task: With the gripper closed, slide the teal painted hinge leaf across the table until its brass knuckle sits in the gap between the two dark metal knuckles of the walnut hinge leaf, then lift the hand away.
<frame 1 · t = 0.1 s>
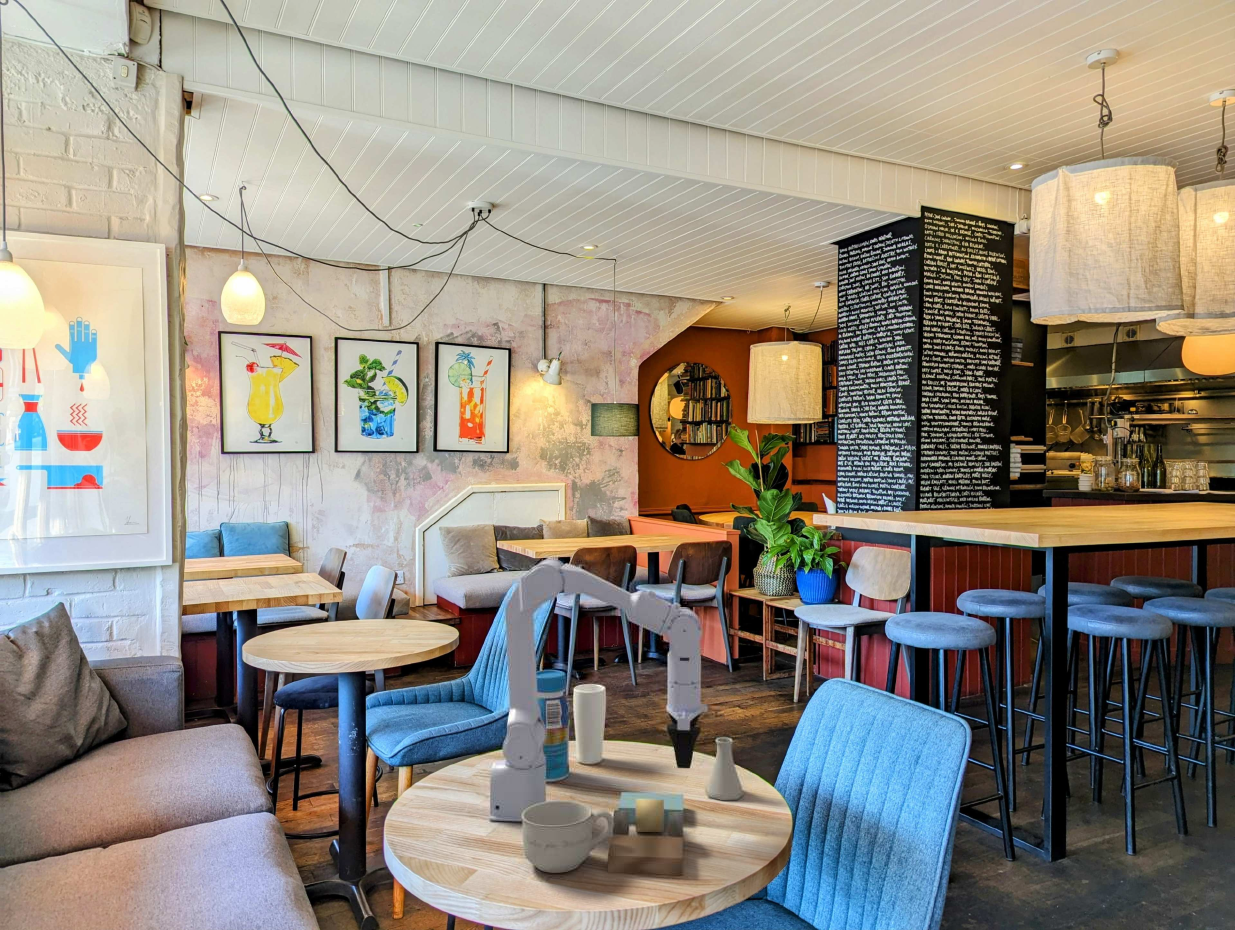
hand: (684, 759, 140), 10 cm above the table, tool pointing down, fingers open, 7 cm apart
fixed hinge leaf: (648, 844, 130), on the table
flask: (724, 795, 151), on the table
loose hinge leaf: (649, 830, 135), on the table
beverage bottle: (548, 776, 160), on the table
teacup: (567, 865, 123), on the table
drinking glass: (589, 761, 168), on the table
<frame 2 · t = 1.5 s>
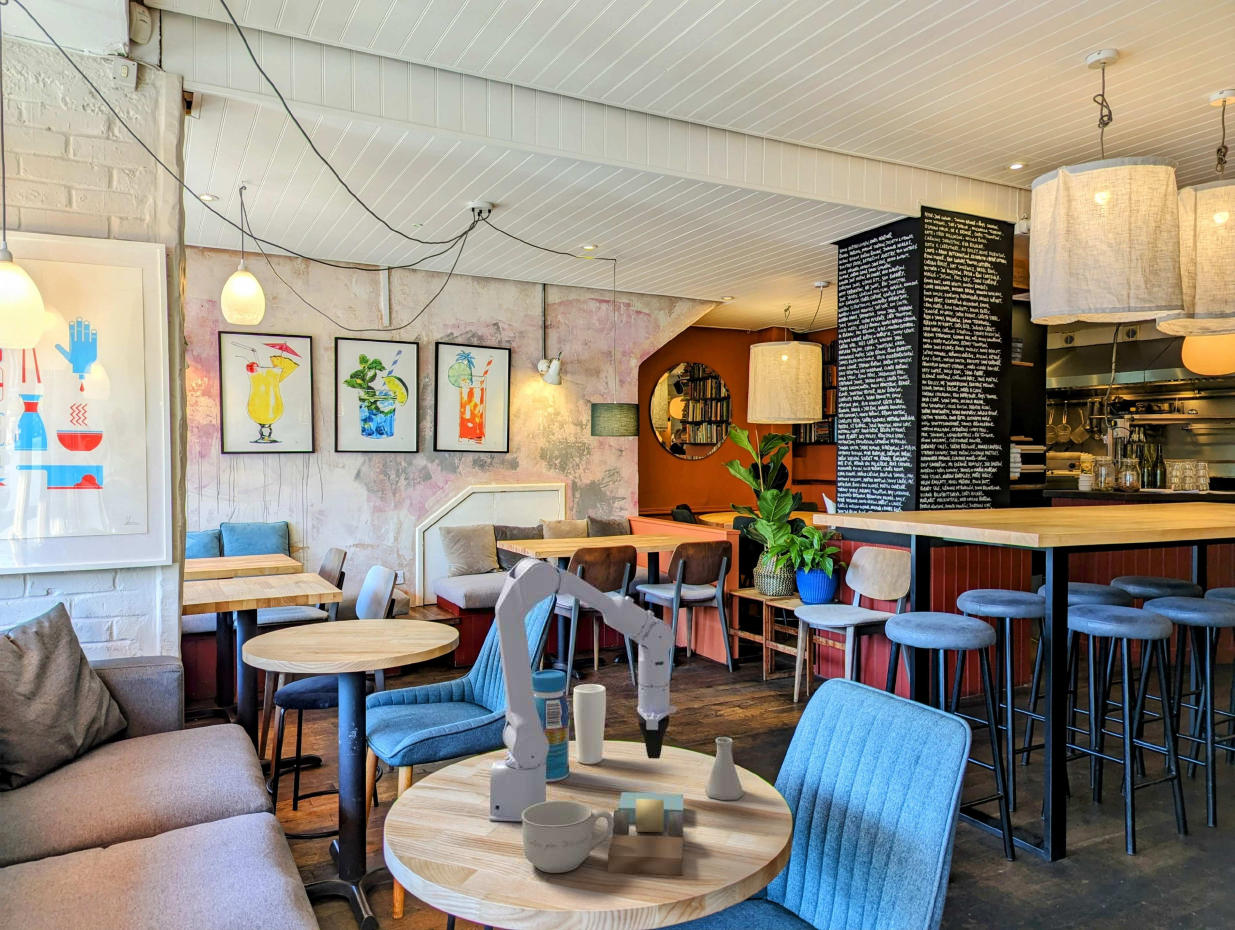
hand: (654, 757, 150), 7 cm above the table, tool pointing down, fingers closed
nothing on the table moved.
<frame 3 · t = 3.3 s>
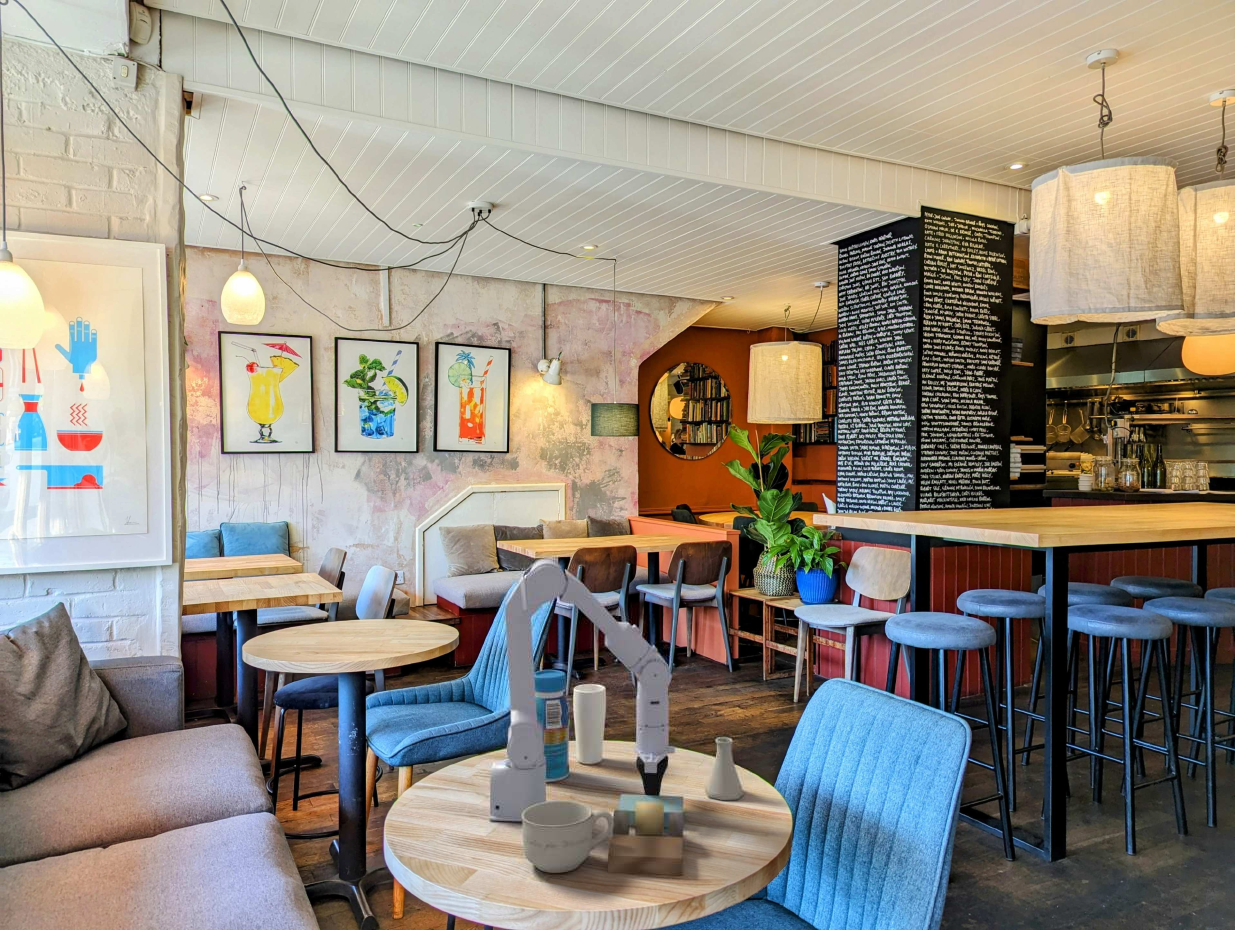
hand: (652, 799, 144), 1 cm above the table, tool pointing down, fingers closed
loose hinge leaf: (649, 833, 134), on the table, touching gripper
everything else where it was.
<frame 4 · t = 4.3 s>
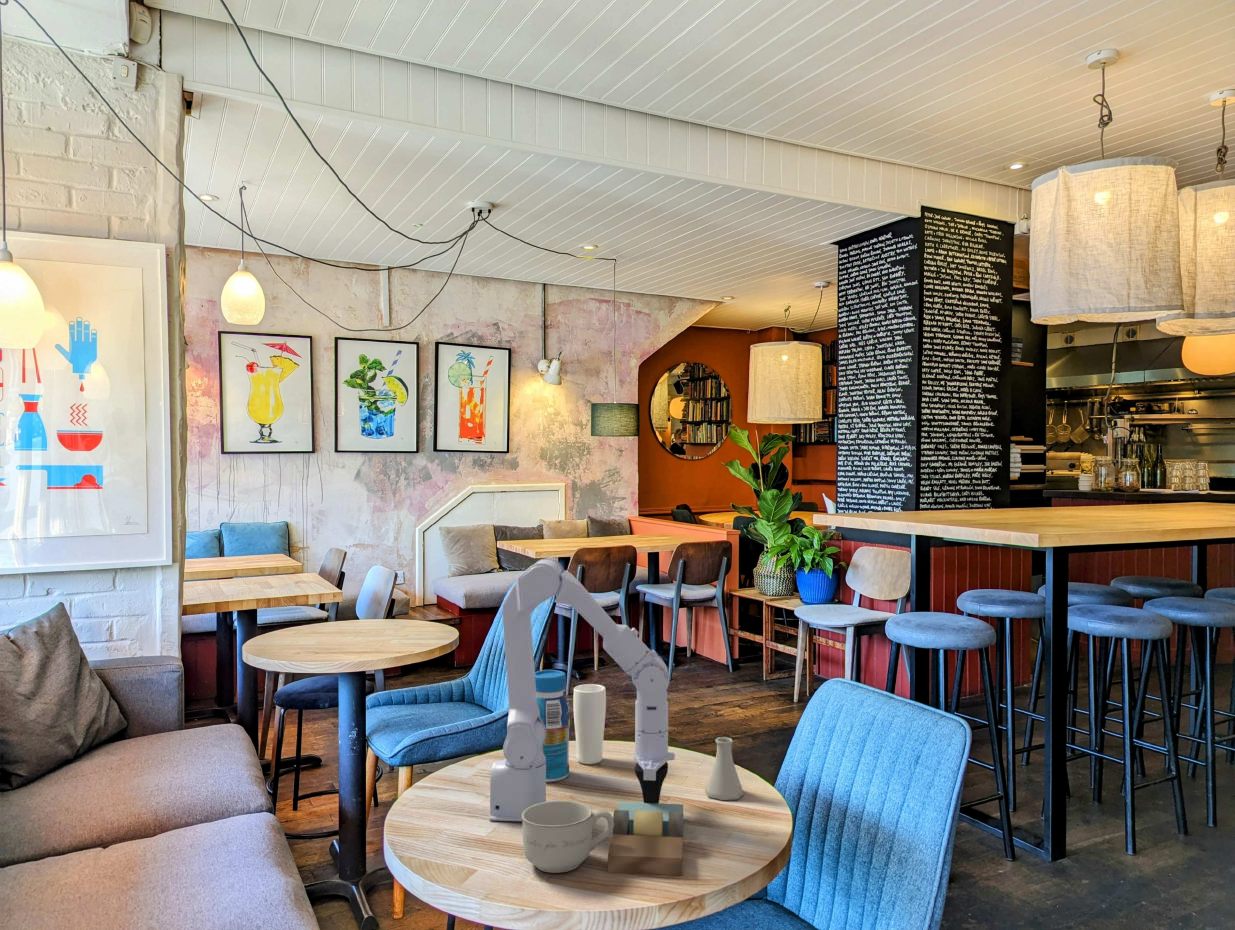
hand: (651, 807, 141), 1 cm above the table, tool pointing down, fingers closed
loose hinge leaf: (648, 843, 130), on the table, touching gripper
everything else where it was.
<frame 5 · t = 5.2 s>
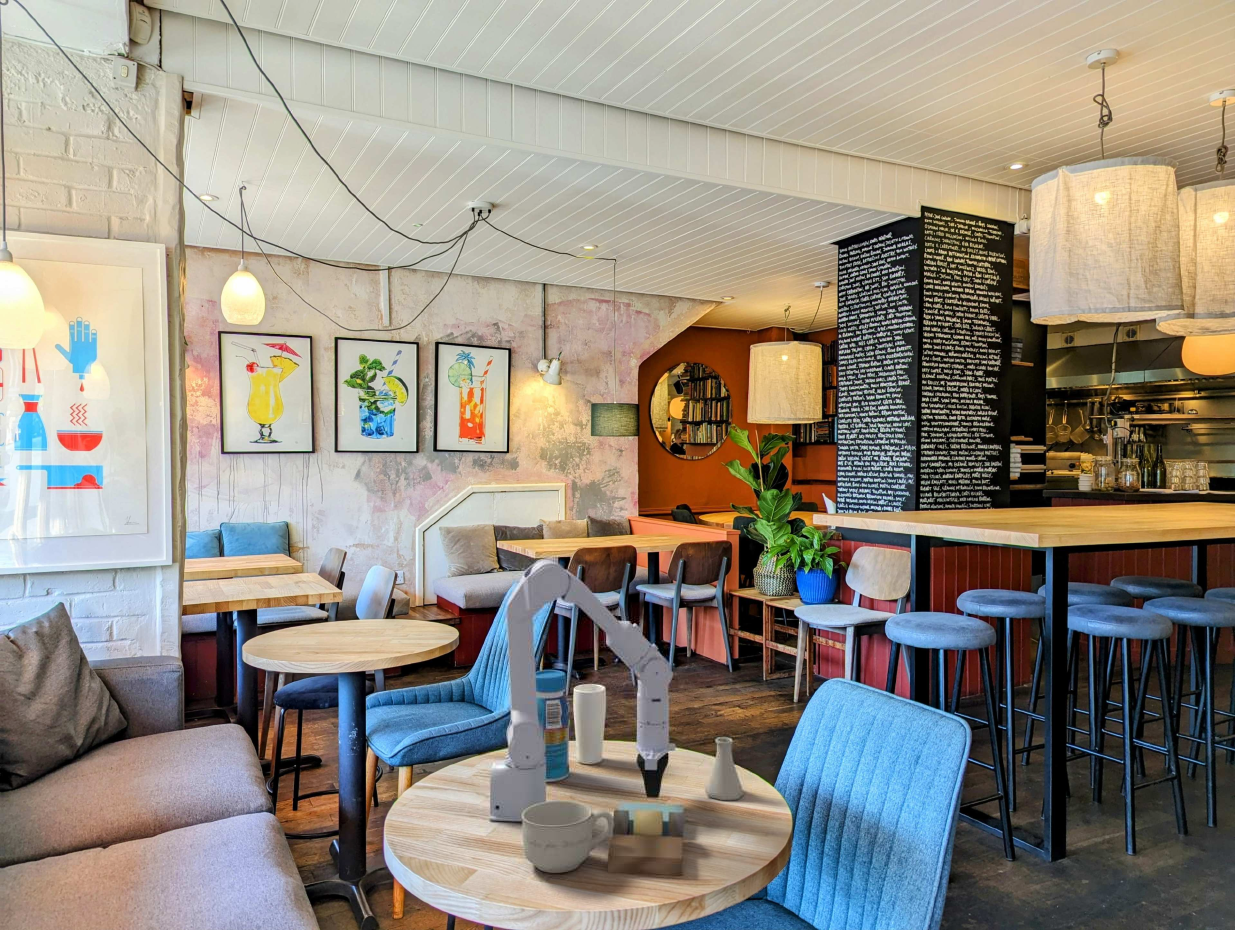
hand: (652, 796, 146), 1 cm above the table, tool pointing down, fingers closed
loose hinge leaf: (648, 843, 130), on the table
everything else where it was.
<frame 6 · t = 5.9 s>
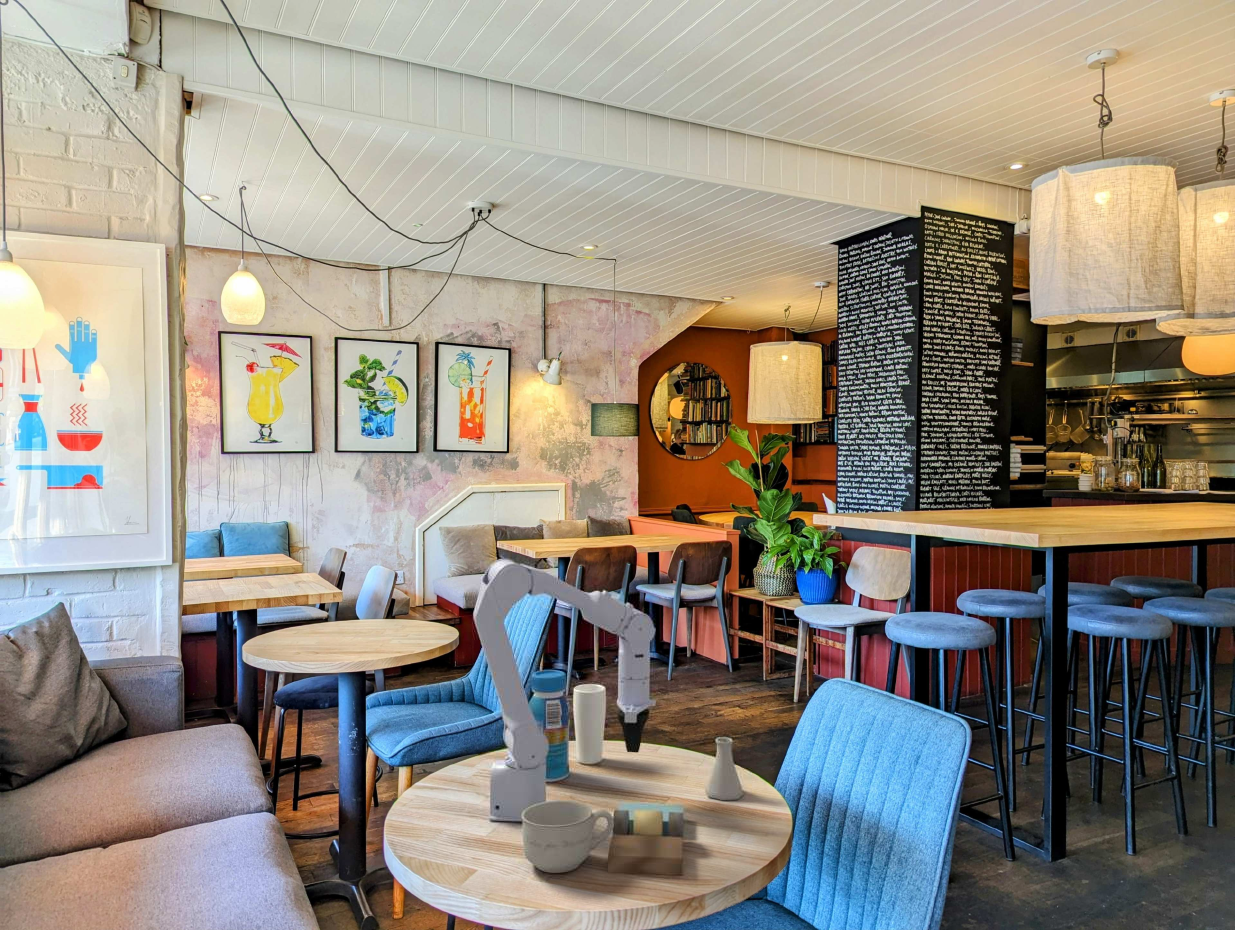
hand: (633, 751, 148), 9 cm above the table, tool pointing down, fingers closed
nothing on the table moved.
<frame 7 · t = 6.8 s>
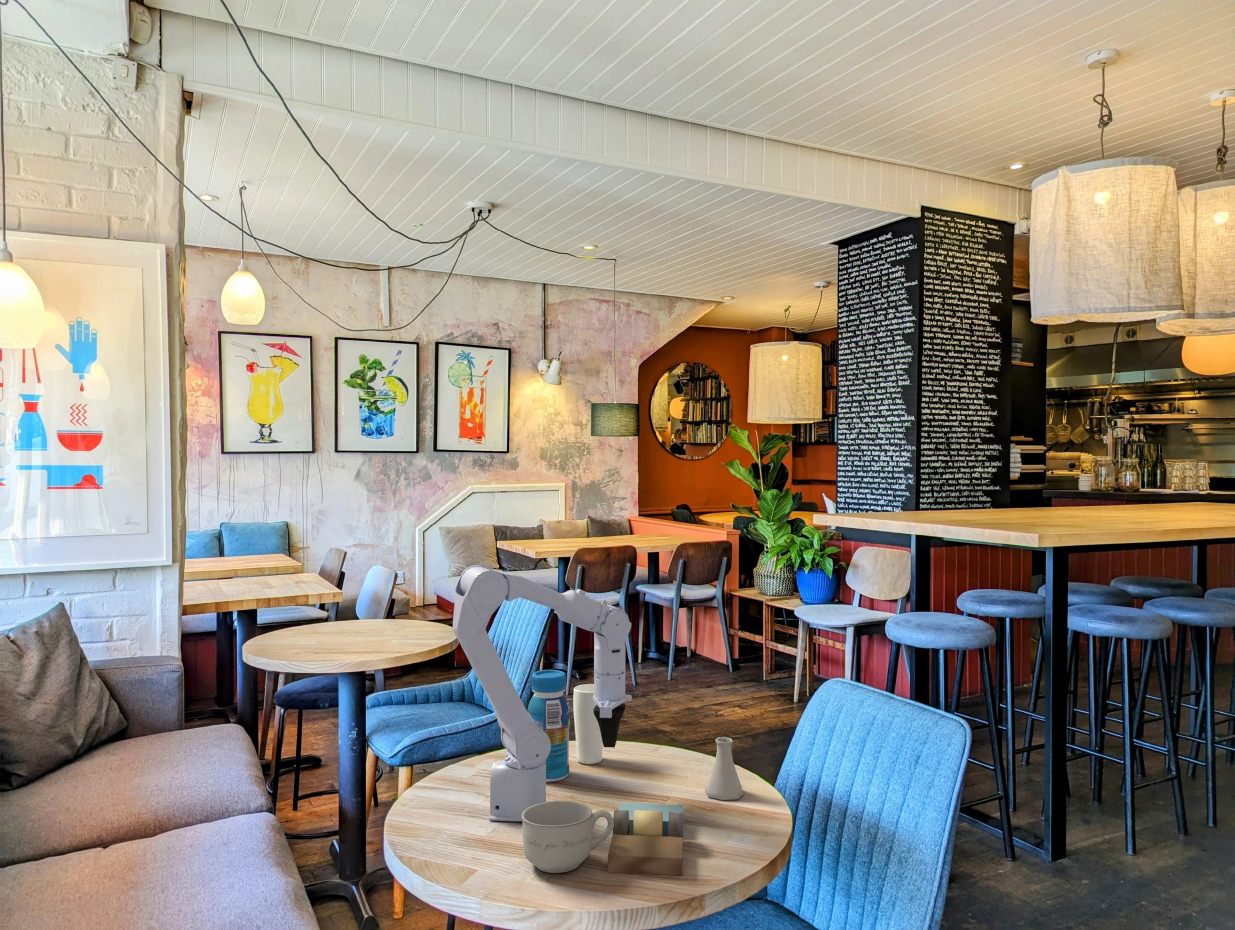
hand: (609, 746, 149), 9 cm above the table, tool pointing down, fingers closed
nothing on the table moved.
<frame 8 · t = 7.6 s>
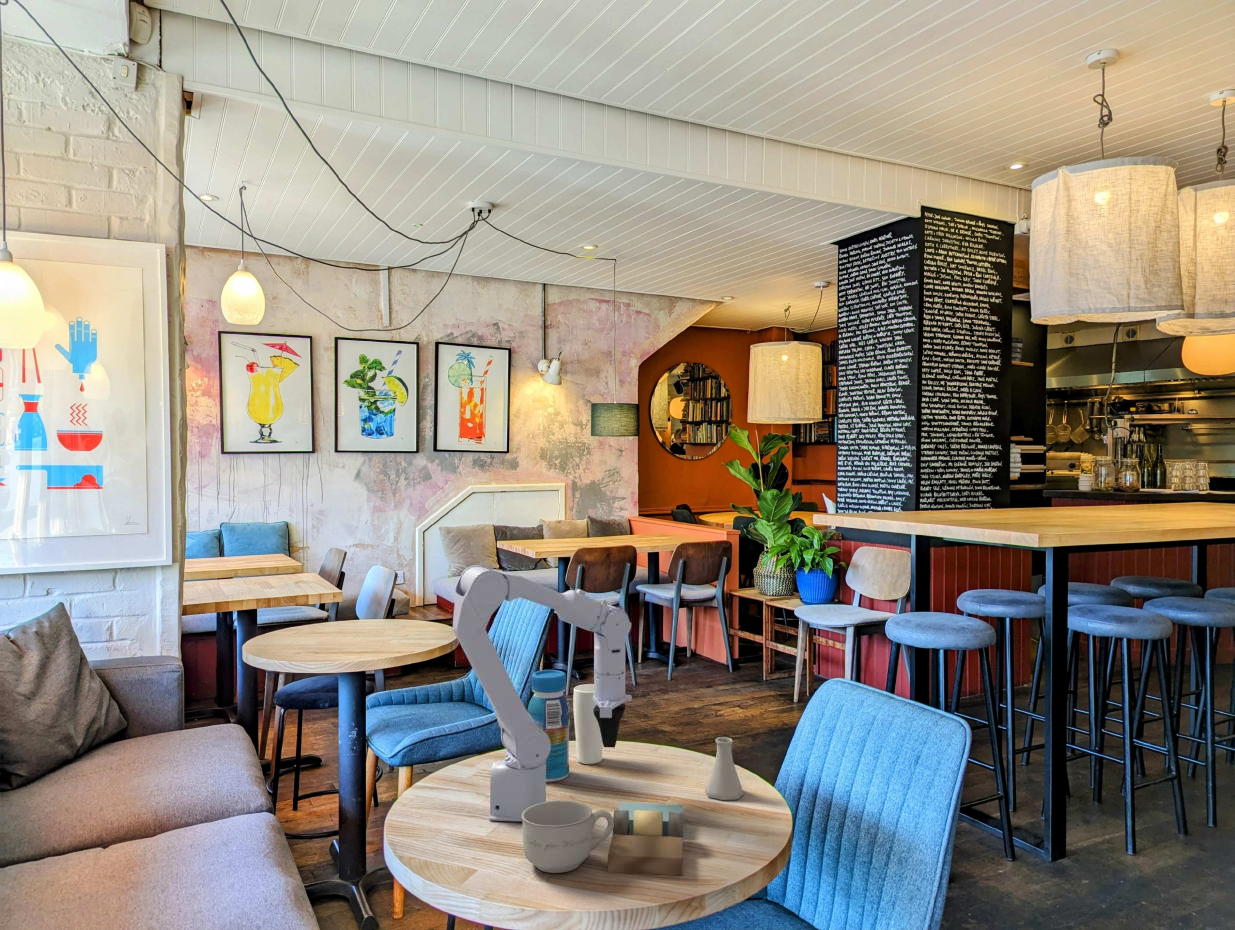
hand: (609, 746, 149), 9 cm above the table, tool pointing down, fingers closed
nothing on the table moved.
at the end: loose hinge leaf 0.5 cm off-centre on the fixed hinge leaf, point 0.0 cm above the fixed hinge leaf's base; loose hinge leaf tilted 1° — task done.
